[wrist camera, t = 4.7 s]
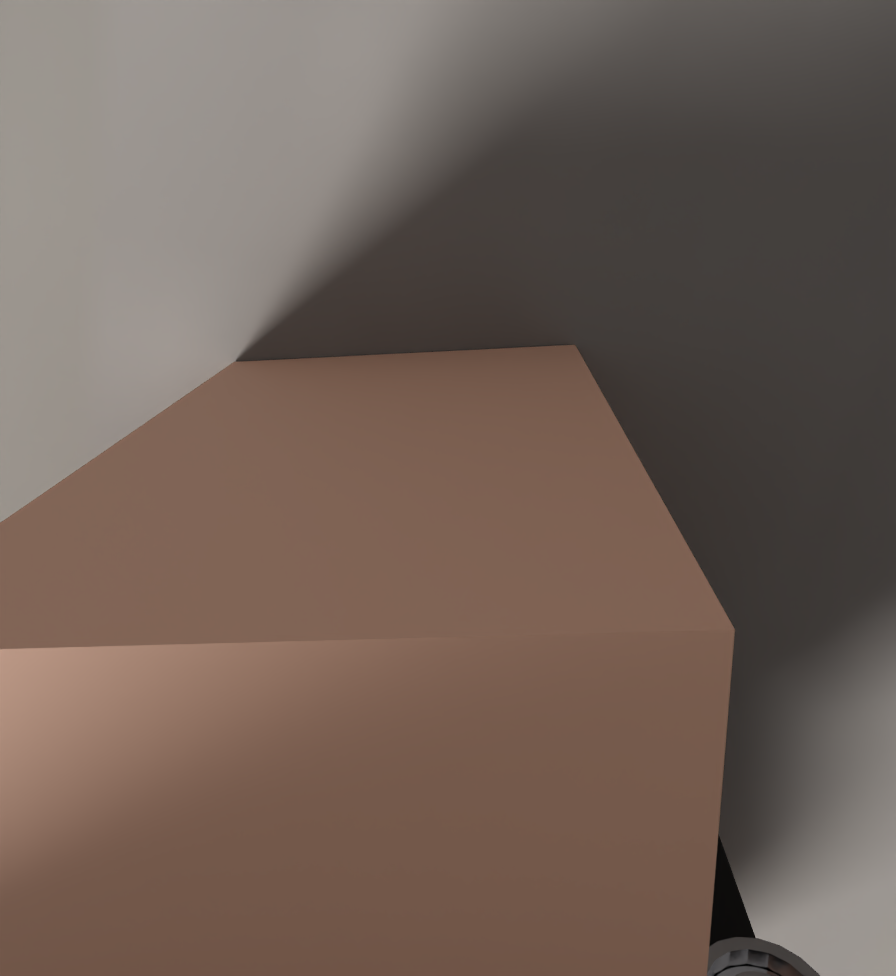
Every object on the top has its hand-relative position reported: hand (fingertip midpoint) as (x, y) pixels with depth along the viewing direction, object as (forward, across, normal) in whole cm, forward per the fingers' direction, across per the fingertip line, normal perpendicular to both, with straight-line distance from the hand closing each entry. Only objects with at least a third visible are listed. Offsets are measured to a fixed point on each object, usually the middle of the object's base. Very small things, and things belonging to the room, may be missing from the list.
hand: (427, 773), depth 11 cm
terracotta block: (+1, 0, 0) cm, 1 cm away
